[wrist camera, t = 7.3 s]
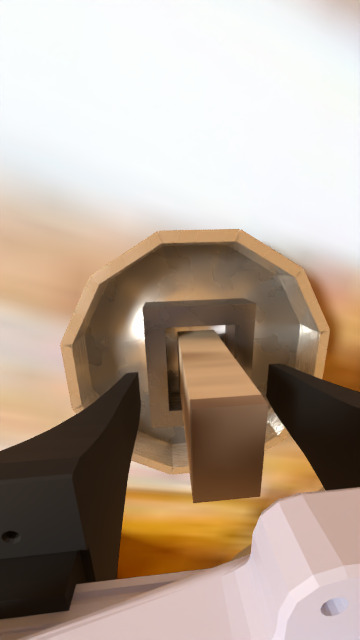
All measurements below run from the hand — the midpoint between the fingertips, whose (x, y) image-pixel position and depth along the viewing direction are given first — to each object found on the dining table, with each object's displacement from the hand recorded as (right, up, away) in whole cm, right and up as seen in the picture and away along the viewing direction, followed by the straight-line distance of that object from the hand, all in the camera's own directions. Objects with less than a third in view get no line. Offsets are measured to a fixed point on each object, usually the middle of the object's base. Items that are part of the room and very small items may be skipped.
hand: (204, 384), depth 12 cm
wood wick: (0, +1, +3) cm, 4 cm away
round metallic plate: (0, +1, +4) cm, 4 cm away
